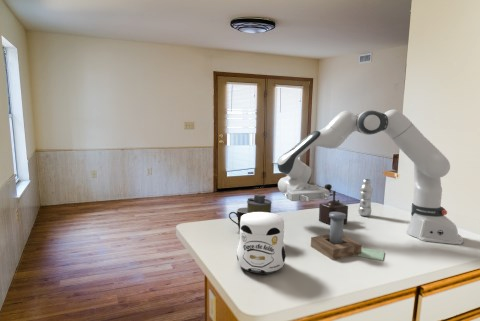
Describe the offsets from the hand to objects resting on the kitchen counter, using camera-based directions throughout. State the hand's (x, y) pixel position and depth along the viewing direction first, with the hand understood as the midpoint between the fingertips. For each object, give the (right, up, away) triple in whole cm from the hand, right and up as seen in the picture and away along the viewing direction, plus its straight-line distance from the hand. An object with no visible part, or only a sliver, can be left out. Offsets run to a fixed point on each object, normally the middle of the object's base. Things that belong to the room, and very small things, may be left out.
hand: (318, 198), depth 146 cm
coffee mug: (-32, -16, +13) cm, 39 cm away
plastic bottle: (+34, -14, +40) cm, 55 cm away
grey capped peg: (+5, -20, -8) cm, 22 cm away
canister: (-26, -18, +1) cm, 32 cm away
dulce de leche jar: (-26, -22, -24) cm, 42 cm away
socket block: (+5, -20, -8) cm, 22 cm away
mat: (+18, -21, -12) cm, 30 cm away
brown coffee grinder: (+13, -15, +30) cm, 35 cm away
